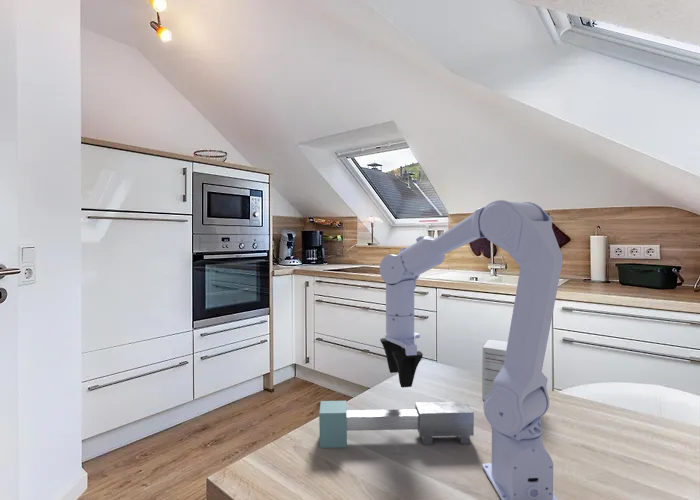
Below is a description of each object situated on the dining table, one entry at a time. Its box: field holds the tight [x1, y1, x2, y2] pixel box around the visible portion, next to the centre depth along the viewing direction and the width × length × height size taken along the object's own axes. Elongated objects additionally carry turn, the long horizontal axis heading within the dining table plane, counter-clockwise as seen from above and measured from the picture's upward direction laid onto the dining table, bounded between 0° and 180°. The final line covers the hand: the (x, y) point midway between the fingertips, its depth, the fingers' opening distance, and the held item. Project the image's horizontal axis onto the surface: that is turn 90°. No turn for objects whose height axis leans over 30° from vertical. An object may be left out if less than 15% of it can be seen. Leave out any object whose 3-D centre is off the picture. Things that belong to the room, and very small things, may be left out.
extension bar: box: [347, 408, 419, 432], centre depth 73 cm, size 3×17×3 cm, turn 91°
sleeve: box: [414, 401, 475, 446], centre depth 74 cm, size 4×10×6 cm, turn 91°
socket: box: [318, 400, 348, 449], centre depth 73 cm, size 5×5×6 cm
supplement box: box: [481, 339, 508, 401], centre depth 91 cm, size 7×7×13 cm
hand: (400, 378), depth 79 cm, fingers open, 7 cm apart
